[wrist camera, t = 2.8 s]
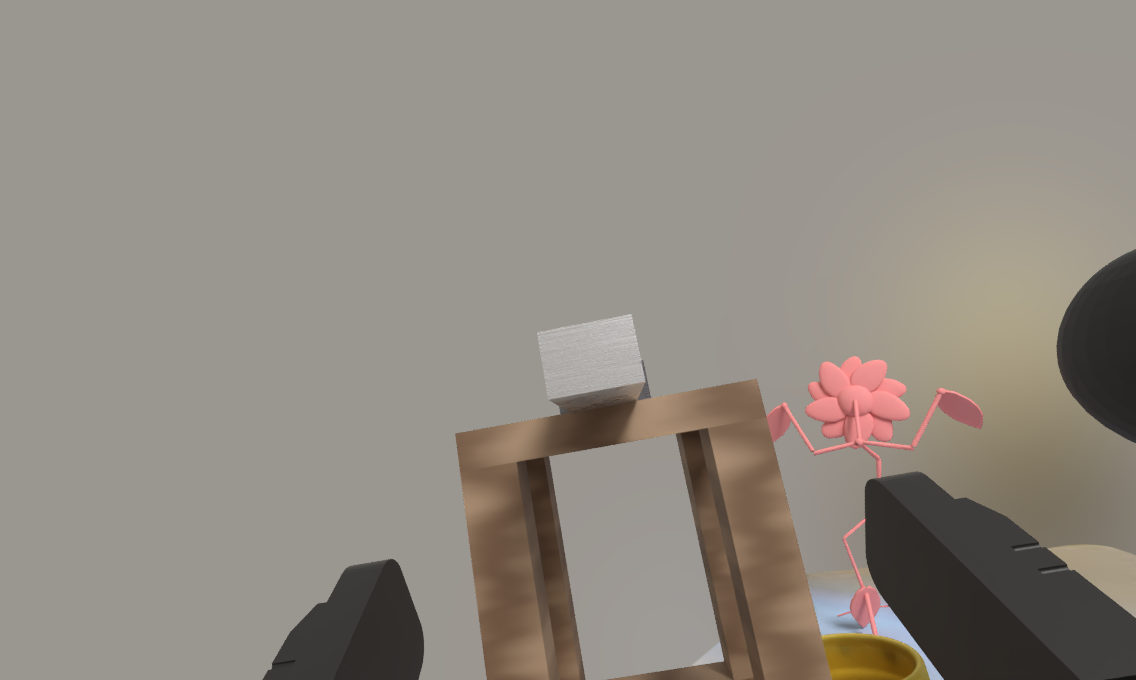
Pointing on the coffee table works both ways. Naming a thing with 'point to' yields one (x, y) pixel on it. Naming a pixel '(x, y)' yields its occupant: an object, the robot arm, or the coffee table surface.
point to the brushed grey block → (593, 364)
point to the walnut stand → (722, 518)
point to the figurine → (865, 429)
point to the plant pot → (872, 658)
